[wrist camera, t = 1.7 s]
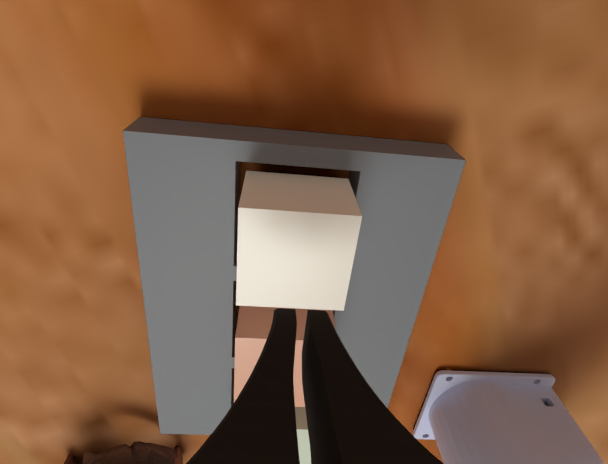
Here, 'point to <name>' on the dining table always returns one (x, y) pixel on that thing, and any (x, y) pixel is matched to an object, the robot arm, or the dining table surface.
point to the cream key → (295, 241)
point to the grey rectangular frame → (223, 249)
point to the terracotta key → (253, 338)
